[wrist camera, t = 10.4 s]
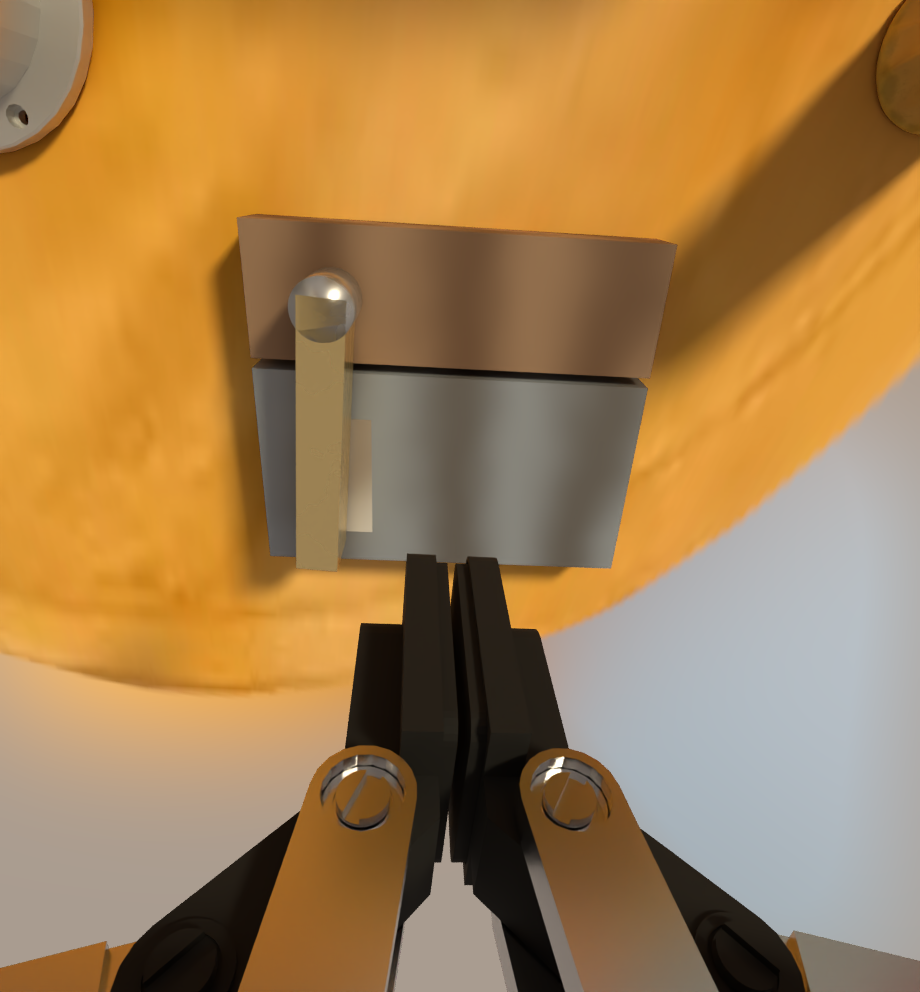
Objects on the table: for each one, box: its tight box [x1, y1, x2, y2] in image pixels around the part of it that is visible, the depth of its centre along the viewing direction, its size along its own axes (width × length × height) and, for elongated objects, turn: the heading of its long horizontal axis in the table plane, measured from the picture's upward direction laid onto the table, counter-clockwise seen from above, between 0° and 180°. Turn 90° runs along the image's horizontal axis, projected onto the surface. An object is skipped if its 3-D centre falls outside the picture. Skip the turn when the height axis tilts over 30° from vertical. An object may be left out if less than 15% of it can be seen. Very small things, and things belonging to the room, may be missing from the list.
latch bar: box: [288, 267, 363, 572], centre depth 28 cm, size 14×3×3 cm, turn 173°
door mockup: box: [237, 214, 677, 568], centre depth 31 cm, size 19×17×3 cm
